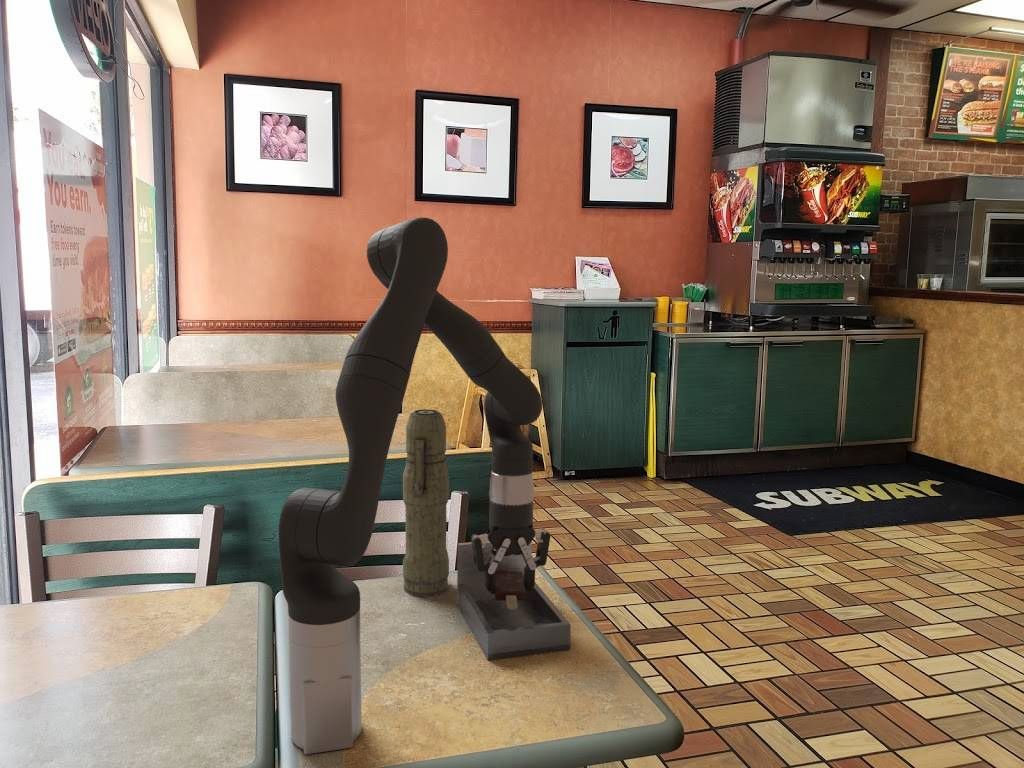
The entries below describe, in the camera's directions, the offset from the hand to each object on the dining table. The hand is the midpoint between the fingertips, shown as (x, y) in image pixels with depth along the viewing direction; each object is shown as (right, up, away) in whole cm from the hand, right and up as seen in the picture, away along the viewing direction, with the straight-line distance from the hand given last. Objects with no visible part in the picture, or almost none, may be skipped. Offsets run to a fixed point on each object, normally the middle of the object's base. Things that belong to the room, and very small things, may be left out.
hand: (510, 590), depth 140 cm
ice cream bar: (0, -1, 0) cm, 1 cm away
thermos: (-17, -4, +18) cm, 25 cm away
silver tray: (0, -7, +1) cm, 7 cm away
